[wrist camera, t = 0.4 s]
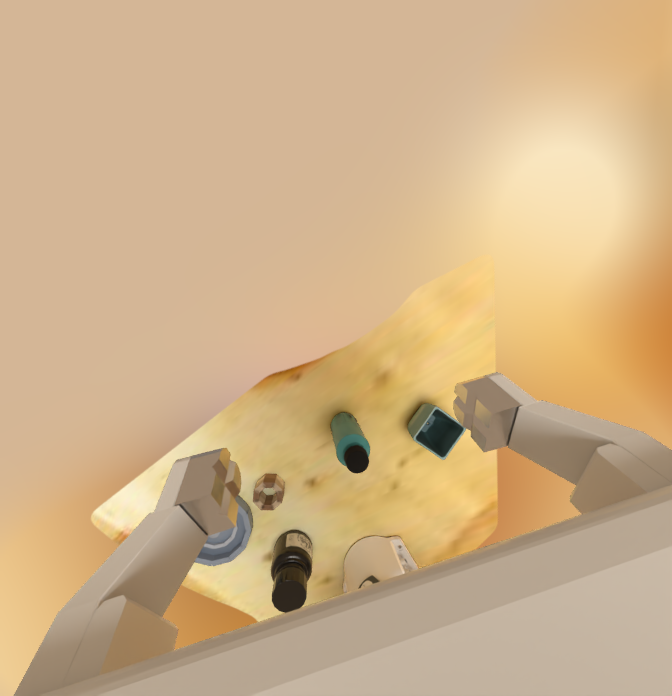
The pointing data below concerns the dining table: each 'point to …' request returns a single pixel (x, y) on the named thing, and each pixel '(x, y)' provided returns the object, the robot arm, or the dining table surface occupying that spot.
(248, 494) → the dining table surface
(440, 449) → the flower pot
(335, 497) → the dining table surface
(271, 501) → the bead loop
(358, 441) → the beverage bottle
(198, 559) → the groove tray
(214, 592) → the dining table surface
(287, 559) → the ink bottle
